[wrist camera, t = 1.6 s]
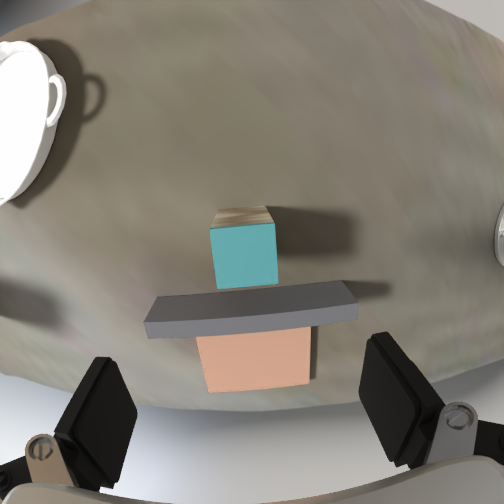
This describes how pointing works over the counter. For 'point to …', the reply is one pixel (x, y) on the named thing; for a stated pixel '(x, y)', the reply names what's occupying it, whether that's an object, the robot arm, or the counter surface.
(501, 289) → the counter surface
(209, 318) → the board
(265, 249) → the block
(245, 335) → the terracotta tile
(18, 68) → the pan
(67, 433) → the robot arm
